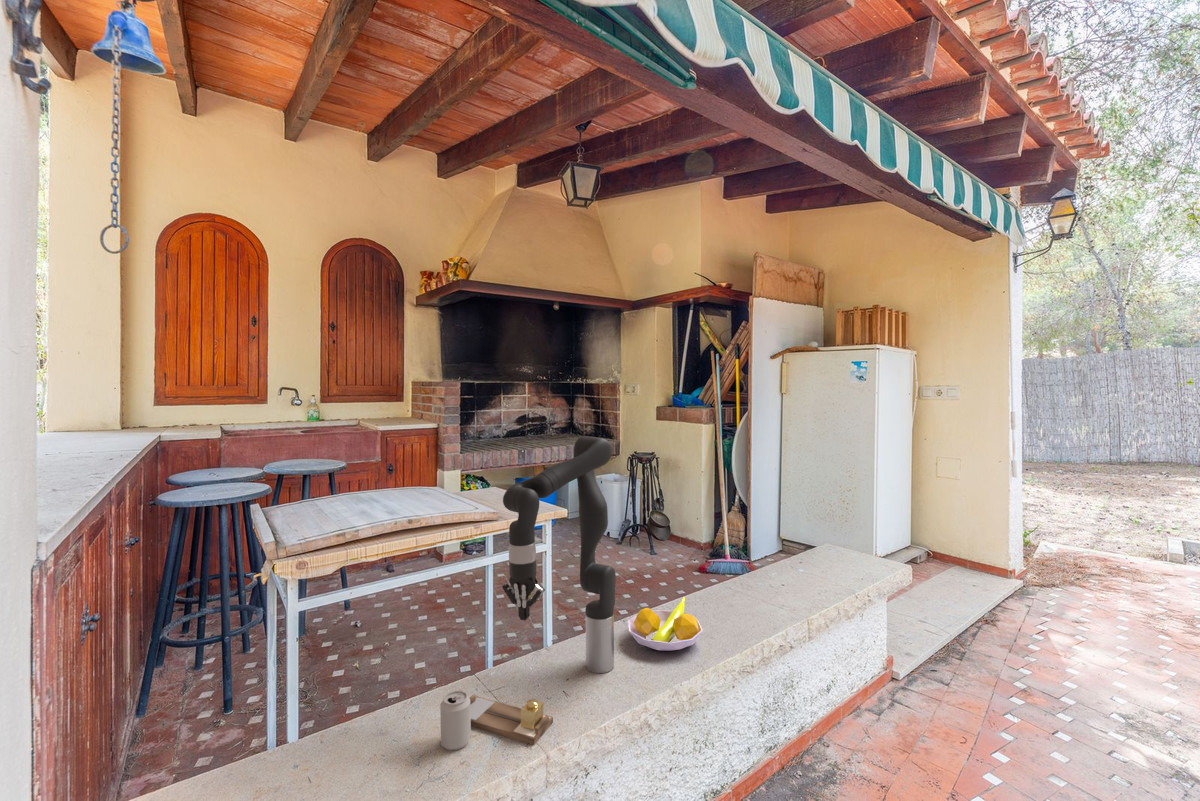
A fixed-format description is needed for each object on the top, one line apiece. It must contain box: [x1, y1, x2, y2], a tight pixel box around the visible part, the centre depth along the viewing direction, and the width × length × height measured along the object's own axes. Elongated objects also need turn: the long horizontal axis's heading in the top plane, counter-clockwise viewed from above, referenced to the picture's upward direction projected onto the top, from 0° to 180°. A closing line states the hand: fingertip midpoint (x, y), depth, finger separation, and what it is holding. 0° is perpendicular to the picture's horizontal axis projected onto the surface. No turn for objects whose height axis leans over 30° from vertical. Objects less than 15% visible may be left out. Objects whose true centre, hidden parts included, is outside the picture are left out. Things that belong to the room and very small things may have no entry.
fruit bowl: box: [627, 596, 703, 652], centre depth 192 cm, size 28×27×11 cm
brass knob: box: [521, 698, 545, 730], centre depth 142 cm, size 5×4×6 cm
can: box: [439, 690, 472, 751], centre depth 137 cm, size 8×8×12 cm
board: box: [469, 694, 554, 746], centre depth 145 cm, size 10×25×3 cm, turn 67°
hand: (524, 619), depth 150 cm, fingers closed
